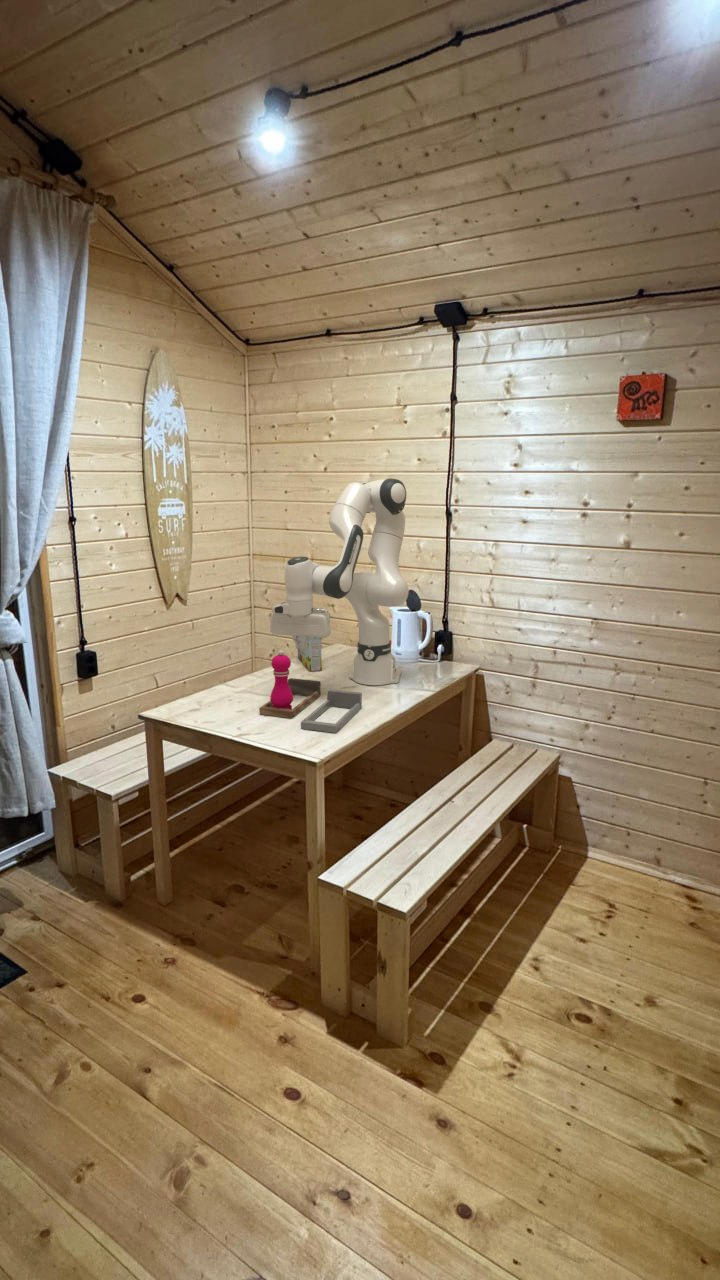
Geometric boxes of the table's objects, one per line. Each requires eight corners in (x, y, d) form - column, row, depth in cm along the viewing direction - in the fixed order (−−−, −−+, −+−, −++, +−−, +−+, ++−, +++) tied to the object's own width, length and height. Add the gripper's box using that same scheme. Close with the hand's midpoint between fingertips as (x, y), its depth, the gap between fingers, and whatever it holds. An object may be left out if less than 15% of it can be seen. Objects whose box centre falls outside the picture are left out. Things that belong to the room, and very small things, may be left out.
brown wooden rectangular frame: (290, 692, 237) (290, 678, 236) (320, 695, 234) (320, 681, 233) (259, 714, 215) (259, 698, 214) (292, 718, 212) (291, 702, 210)
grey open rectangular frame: (329, 703, 225) (329, 689, 224) (361, 707, 222) (361, 692, 221) (300, 728, 203) (300, 712, 202) (336, 732, 200) (336, 716, 199)
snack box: (296, 658, 282) (296, 622, 278) (309, 657, 284) (309, 621, 280) (308, 672, 262) (308, 633, 259) (322, 671, 264) (322, 632, 260)
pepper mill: (293, 707, 222) (292, 647, 217) (293, 715, 215) (292, 652, 210) (270, 708, 221) (269, 647, 217) (270, 715, 214) (268, 653, 210)
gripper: (333, 607, 224) (333, 648, 228) (275, 604, 230) (277, 644, 234) (326, 611, 218) (327, 653, 222) (267, 607, 224) (269, 648, 228)
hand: (300, 648), depth 228 cm, fingers closed
